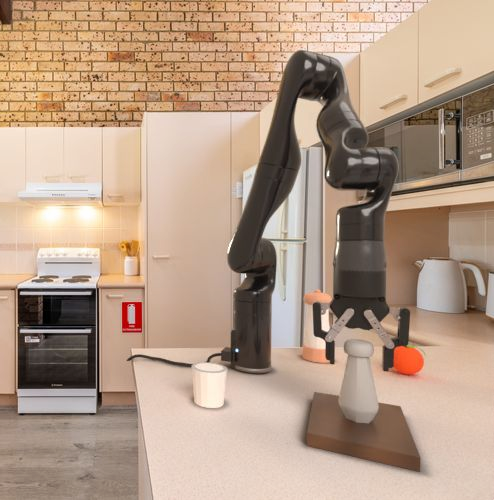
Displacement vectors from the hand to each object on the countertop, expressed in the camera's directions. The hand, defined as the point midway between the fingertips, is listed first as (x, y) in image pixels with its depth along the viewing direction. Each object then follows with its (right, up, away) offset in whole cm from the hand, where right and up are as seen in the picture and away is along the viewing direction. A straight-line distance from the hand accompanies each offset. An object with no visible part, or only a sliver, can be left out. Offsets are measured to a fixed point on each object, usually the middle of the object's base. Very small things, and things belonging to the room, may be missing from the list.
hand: (357, 366), depth 65 cm
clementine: (+31, -11, +30) cm, 44 cm away
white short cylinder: (-22, -11, +11) cm, 27 cm away
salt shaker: (0, -9, 0) cm, 9 cm away
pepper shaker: (+15, -11, +42) cm, 46 cm away
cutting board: (0, -11, 0) cm, 11 cm away
